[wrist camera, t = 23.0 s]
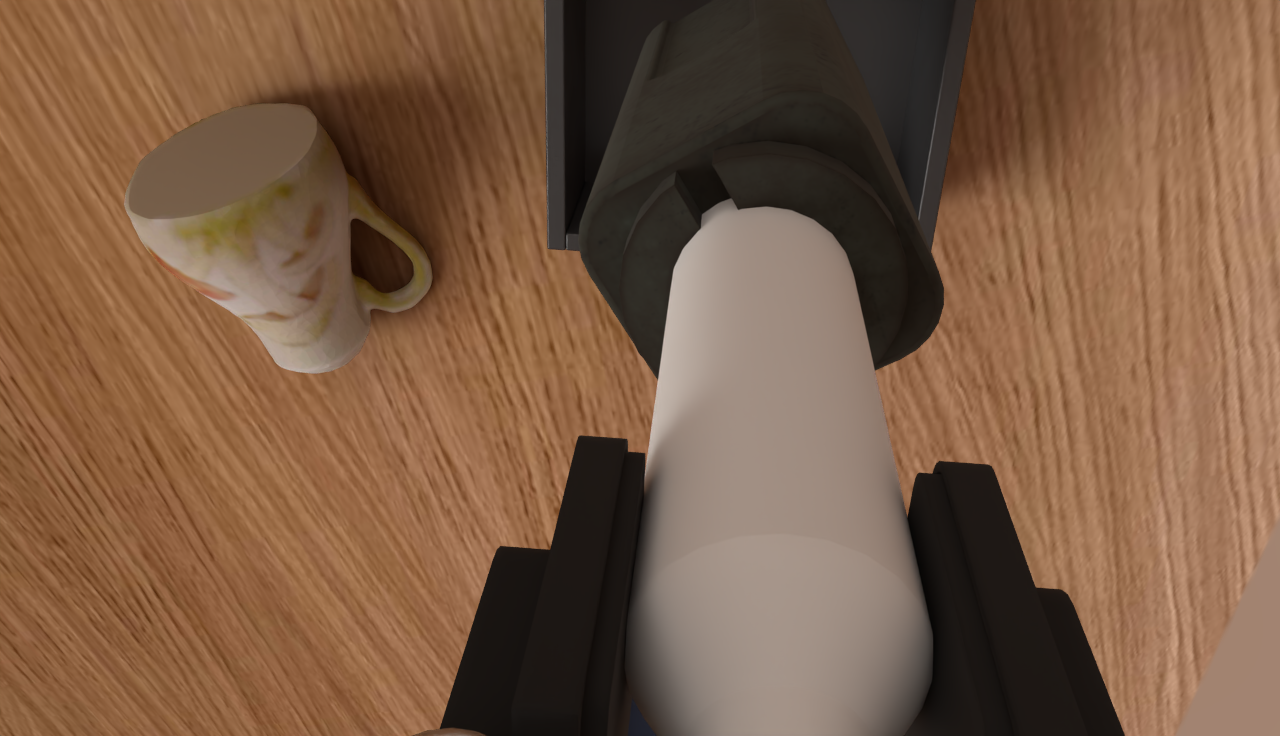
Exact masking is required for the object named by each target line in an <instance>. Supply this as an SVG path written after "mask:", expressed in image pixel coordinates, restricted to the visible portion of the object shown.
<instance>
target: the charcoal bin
mask: <svg viewBox="0 0 1280 736" xmlns="http://www.w3.org/2000/svg"><path fill="white" fill-rule="evenodd" d="M711 1H713V0H544V34H545V105H546V177H547V247H548V249H556V250H565V249H566V250H573V251H580V248H579V242H578V237H579V227H580V221H581V219H582V216H583V213H584V210H585V207H586V205H587V202H588V199H589V196H590V193H591V191H592V188H593V185H594V182H595V179H596V177H597V174H598V171H599V168H600V165H601V163H602V160H603V157H604V154H605V151H606V149H607V146H608V143H609V140H610V137H611V135H612V132H613V129H614V126H615V123H616V121H617V118H618V115H619V112H620V109H621V107H622V104H623V101H624V98H625V95H626V93H627V90H628V87H629V84H630V81H631V79H632V76H633V73H634V70H635V67H636V65H637V62H638V59H639V56H640V53H641V51H642V48H643V46H644V43H645V40H646V38H647V37H648V35H649V34H650V33H651V31H652V30H653V29H654V28H655V27H656V26H658V25H659V24H660V23H661V22H663V21H664V20H669V21H670V22H672V23H675V22H677V21H679V20H680V19H682V18H684V17H686V16H687V15H689V14H691V13H692V12H694V11H696V10H697V9H699V8H701V7H703V6H704V5H706V4H708V3H709V2H711ZM825 1H826V3H827V5H828V7H829V9H830V11H831V13H832V15H833V17H834V20H835V22H836V24H837V26H838V28H839V30H840V32H841V34H842V36H843V38H844V40H845V42H846V44H847V46H848V48H849V50H850V52H851V54H852V57H853V59H854V61H855V63H856V65H857V67H858V69H859V71H860V73H861V75H862V77H863V79H864V82H865V85H866V87H867V90H868V92H869V95H870V97H871V100H872V102H873V105H874V108H875V110H876V113H877V115H878V118H879V120H880V123H881V125H882V128H883V131H884V133H885V136H886V138H887V141H888V143H889V146H890V148H891V151H892V154H893V156H894V159H895V161H896V164H897V166H898V169H899V171H900V174H901V177H902V179H903V182H904V184H905V187H906V189H907V192H908V194H909V197H910V200H911V202H912V205H913V207H914V210H915V212H916V215H917V217H918V220H919V223H920V225H921V228H922V230H923V233H924V235H925V238H926V240H927V243H928V246H929V248H930V251H931V249H932V244H933V238H934V232H935V227H936V221H937V216H938V210H939V204H940V199H941V193H942V188H943V182H944V176H945V171H946V165H947V160H948V154H949V148H950V143H951V137H952V131H953V126H954V120H955V115H956V109H957V103H958V98H959V92H960V87H961V81H962V75H963V70H964V64H965V58H966V53H967V47H968V42H969V36H970V30H971V25H972V19H973V14H974V8H975V2H976V0H825Z"/></svg>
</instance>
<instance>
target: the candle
mask: <svg viewBox="0 0 1280 736" xmlns="http://www.w3.org/2000/svg"><path fill="white" fill-rule="evenodd" d="M578 242H579V248H580V253H581V258H582V261H583V263H584V265H585V267H586V269H587V271H588V273H589V275H590V277H591V278H592V280H593V281H594V283H595V284H596V286H597V287H598V289H599V291H600V292H601V294H602V295H603V297H604V298H605V300H606V301H607V303H608V304H609V306H610V307H611V309H612V310H613V312H614V314H615V315H616V317H617V318H618V320H619V321H620V323H621V324H622V326H623V327H624V329H625V330H626V332H627V334H628V335H629V337H630V338H631V340H632V341H633V343H634V344H635V346H636V348H637V350H638V352H639V354H640V355H641V356H642V357H643V358H644V360H645V361H646V363H647V364H648V366H649V367H650V369H651V370H652V372H653V373H654V375H655V376H656V378H657V380H658V384H657V392H656V399H655V406H654V414H653V421H652V428H651V435H650V443H649V450H648V457H647V465H646V472H645V482H644V498H643V506H642V513H641V521H640V528H639V535H638V543H637V550H636V558H635V565H634V572H633V580H632V587H631V595H630V602H629V609H628V617H627V629H626V646H625V665H624V667H625V673H626V678H627V683H628V688H629V693H630V695H631V696H632V698H633V700H634V702H635V703H636V705H637V707H638V709H639V710H640V712H641V714H642V716H643V717H644V719H645V720H646V722H647V723H648V725H649V726H650V727H651V729H652V730H653V731H654V733H655V734H656V736H904V735H905V733H906V732H907V730H908V729H909V727H910V726H911V724H912V723H913V721H914V720H915V718H916V717H917V715H918V714H919V712H920V711H921V709H922V707H923V704H924V702H925V699H926V696H927V693H928V690H929V688H930V685H931V682H932V676H933V632H932V628H931V623H930V619H929V614H928V609H927V605H926V600H925V596H924V591H923V587H922V582H921V578H920V573H919V569H918V564H917V560H916V555H915V551H914V546H913V541H912V537H911V532H910V528H909V523H908V519H907V514H906V510H905V505H904V501H903V496H902V492H901V487H900V483H899V478H898V473H897V469H896V464H895V460H894V455H893V451H892V446H891V442H890V437H889V433H888V428H887V424H886V419H885V415H884V410H883V405H882V401H881V396H880V392H879V387H878V383H877V378H876V374H875V370H877V369H879V368H882V367H884V366H886V365H889V364H891V363H893V362H895V361H898V360H900V359H902V358H903V357H905V356H907V355H909V354H910V353H912V352H914V351H915V350H917V349H918V348H919V347H920V346H921V345H922V344H923V343H924V342H925V341H926V340H927V339H928V338H929V337H930V336H931V334H932V332H933V331H934V329H935V328H936V326H937V324H938V323H939V319H940V316H941V312H942V309H943V306H944V287H943V284H942V281H941V277H940V274H939V271H938V269H937V266H936V263H935V261H934V258H933V256H932V253H931V251H930V248H929V246H928V243H927V240H926V238H925V235H924V233H923V230H922V228H921V225H920V223H919V220H918V217H917V215H916V212H915V210H914V207H913V205H912V202H911V200H910V197H909V194H908V192H907V189H906V187H905V184H904V182H903V179H902V177H901V174H900V171H899V169H898V166H897V164H896V161H895V159H894V156H893V154H892V151H891V148H890V146H889V143H888V141H887V138H886V136H885V133H884V131H883V128H882V125H881V123H880V120H879V118H878V115H877V113H876V110H875V108H874V105H873V102H872V100H871V97H870V95H869V92H868V90H867V87H866V85H865V82H864V79H863V77H862V75H861V73H860V71H859V69H858V67H857V65H856V63H855V61H854V59H853V57H852V54H851V52H850V50H849V48H848V46H847V44H846V42H845V40H844V38H843V36H842V34H841V32H840V30H839V28H838V26H837V24H836V22H835V20H834V17H833V15H832V13H831V11H830V9H829V7H828V5H827V3H826V1H825V0H713V1H711V2H709V3H708V4H706V5H704V6H703V7H701V8H699V9H697V10H696V11H694V12H692V13H691V14H689V15H687V16H686V17H684V18H682V19H680V20H679V21H677V22H675V23H672V22H670V21H669V20H664V21H663V22H661V23H660V24H659V25H658V26H656V27H655V28H654V29H653V30H652V31H651V33H650V34H649V35H648V37H647V38H646V40H645V43H644V46H643V48H642V51H641V53H640V56H639V59H638V62H637V65H636V67H635V70H634V73H633V76H632V79H631V81H630V84H629V87H628V90H627V93H626V95H625V98H624V101H623V104H622V107H621V109H620V112H619V115H618V118H617V121H616V123H615V126H614V129H613V132H612V135H611V137H610V140H609V143H608V146H607V149H606V151H605V154H604V157H603V160H602V163H601V165H600V168H599V171H598V174H597V177H596V179H595V182H594V185H593V188H592V191H591V193H590V196H589V199H588V202H587V205H586V207H585V210H584V213H583V216H582V219H581V221H580V227H579V237H578Z"/></svg>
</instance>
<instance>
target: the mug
mask: <svg viewBox="0 0 1280 736" xmlns="http://www.w3.org/2000/svg"><path fill="white" fill-rule="evenodd" d="M124 206H125V209H126V211H127V214H128V215H129V217H130V219H131V221H132V224H133V226H134V228H135V230H136V232H137V234H138V236H139V238H140V239H141V241H142V243H143V244H144V246H145V247H146V249H147V250H148V251H149V253H150V254H151V255H152V256H153V257H154V258H155V259H156V260H157V261H158V262H159V263H160V264H161V265H162V266H163V267H164V268H166V269H167V270H168V271H169V272H171V273H172V274H173V275H174V276H176V277H177V278H178V279H179V280H181V281H182V282H184V283H185V284H187V285H189V286H190V287H192V288H193V289H195V290H196V291H198V292H200V293H201V294H203V295H204V296H206V297H208V298H209V299H211V300H213V301H214V302H216V303H218V304H219V305H221V306H223V307H224V308H226V309H228V310H229V311H231V312H232V313H233V314H234V315H236V316H238V317H239V318H241V319H242V320H243V321H244V322H245V323H246V324H247V325H249V326H250V327H251V328H252V330H253V331H254V332H255V333H256V334H257V335H258V337H259V338H260V340H261V341H262V343H263V344H264V346H265V347H266V348H267V350H268V352H269V353H270V355H271V356H272V357H273V359H274V361H275V362H276V363H277V364H278V365H279V366H280V367H282V368H285V369H287V370H292V371H296V372H305V373H323V372H328V371H332V370H335V369H337V368H340V367H342V366H343V365H345V364H347V363H348V362H349V361H351V360H352V359H353V358H354V357H355V356H356V355H357V354H358V353H359V352H360V350H361V348H362V347H363V344H364V342H365V340H366V337H367V335H368V333H369V330H370V322H371V315H370V311H371V309H380V310H384V311H388V312H392V313H395V312H400V311H403V310H407V309H410V308H412V307H414V306H415V305H416V304H417V303H418V302H419V301H420V300H421V299H422V298H423V297H424V296H425V295H426V293H427V292H428V290H429V289H430V287H431V282H432V278H433V277H432V269H431V263H430V260H429V258H428V256H427V254H426V252H425V250H424V249H423V247H422V246H421V245H420V243H419V242H418V241H417V240H416V239H415V238H414V237H413V236H412V235H411V234H410V233H408V232H407V231H406V230H404V229H403V228H402V227H401V226H399V225H398V224H397V223H396V222H395V221H393V220H392V219H391V218H390V217H388V216H387V215H386V214H385V213H384V212H383V211H382V210H381V209H379V208H378V207H377V206H376V204H375V203H374V202H373V201H372V200H371V199H370V198H369V197H368V195H367V194H366V193H365V191H364V190H363V189H362V187H361V186H360V184H359V182H358V181H357V180H356V179H355V178H354V177H353V176H351V175H349V174H348V173H347V172H346V171H345V168H344V165H343V162H342V160H341V157H340V155H339V152H338V150H337V148H336V146H335V144H334V143H333V141H332V140H331V138H330V136H329V135H328V133H327V132H326V131H325V129H324V128H323V127H322V126H321V124H320V123H319V122H318V120H317V119H316V117H315V115H314V114H313V112H312V111H311V110H310V109H309V108H308V107H306V106H303V105H295V104H289V103H279V104H269V103H259V104H251V105H245V106H240V107H235V108H231V109H229V110H226V111H223V112H220V113H217V114H214V115H212V116H210V117H208V118H205V119H202V120H200V121H199V122H197V123H194V124H193V125H191V126H189V127H187V128H185V129H184V130H182V131H180V132H178V133H177V134H175V135H174V136H172V137H171V138H170V139H168V140H167V141H165V142H164V143H162V144H161V145H159V146H158V147H157V148H155V149H154V150H153V151H151V152H150V153H149V154H148V155H146V156H145V157H144V158H143V159H142V160H141V161H140V163H139V165H138V167H137V169H136V170H135V172H134V174H133V176H132V178H131V180H130V183H129V185H128V188H127V191H126V194H125V205H124ZM355 218H358V219H359V220H361V221H363V222H365V223H366V224H368V225H369V226H370V227H372V228H373V229H375V230H377V231H378V232H379V233H381V234H382V235H384V236H385V237H387V238H389V239H390V240H391V241H393V242H394V243H395V244H396V245H397V246H398V247H399V248H401V249H402V250H403V251H404V252H405V253H406V254H407V256H408V257H409V258H410V260H411V261H412V263H413V268H414V275H413V277H412V279H411V281H410V283H409V284H407V285H406V286H405V287H403V288H401V289H399V290H397V291H394V292H390V293H381V292H379V291H377V290H376V289H375V288H374V287H373V286H372V285H371V284H370V283H369V282H368V281H366V280H365V279H363V278H360V277H358V276H356V275H354V274H353V273H352V271H351V228H350V223H351V220H352V219H355Z"/></svg>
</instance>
